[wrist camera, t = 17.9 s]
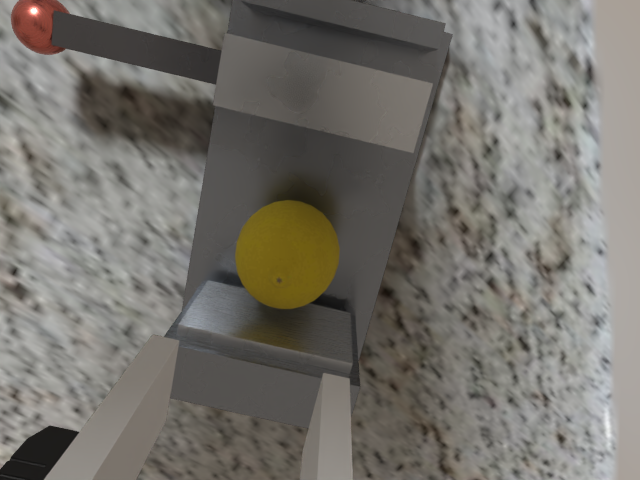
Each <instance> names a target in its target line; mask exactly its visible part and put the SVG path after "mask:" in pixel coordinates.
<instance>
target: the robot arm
mask: <svg viewBox="0 0 640 480" xmlns="http://www.w3.org/2000/svg"><path fill="white" fill-rule="evenodd" d="M178 346H179V340H175V339H171V338H166V337H162V336H157V335H152V336H151V337H150V339H149V340H148V341H147V343H146V344H145V345H144V347H143V348H142V349H141V351H140V352H139V353H138V355H137V356H136V357H135V359H134V360H133V361H132V363H131V364H130V365H129V367H128V368H127V369H126V371H125V372H124V373H123V375H122V376H121V377H120V379H119V380H118V381H117V383H116V384H115V385H114V387H113V388H112V389H111V391H110V392H109V393H108V395H107V396H106V397H105V399H104V400H103V401H102V403H101V404H100V405H99V407H98V408H97V410H96V411H95V412H94V414H93V415H92V416H91V418H90V419H89V420H88V422H87V423H86V424H85V426H84V427H83V428H82V430H81V431H80V432H77V431H73V430H68V429H63V428H59V427H54V426H48V427H47V428H45V429H43V430H41V431H40V432H38V433H36V434H35V435H33V436H31V437H30V438H28V439H27V440H26V441H25V442H24V443H23V444H22V445H21V446H20V448H19V449H18V450H17V451H16V452H15V453H14V454H13V455H12V457H11V459H10V461H7V462H6V463H5V465H4V466H3V467H2V468H1V469H0V480H136V478H137V477H138V475H139V473H140V471H141V469H142V467H143V465H144V463H145V461H146V459H147V457H148V455H149V453H150V451H151V449H152V448H153V446H154V444H155V442H156V440H157V438H158V436H159V434H160V432H161V430H162V428H163V426H164V424H165V422H166V419H167V413H168V407H169V401H170V395H171V389H172V382H173V376H174V370H175V364H176V358H177V352H178ZM300 480H353V468H352V437H351V405H350V379H349V378H345V377H340V376H336V375H332V374H327V373H323V376H322V380H321V384H320V388H319V391H318V395H317V399H316V403H315V406H314V410H313V414H312V418H311V421H310V425H309V429H308V433H307V436H306V440H305V444H304V448H303V452H302V462H301V472H300Z"/></svg>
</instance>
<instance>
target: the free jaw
mask: <svg viewBox="0 0 640 480" xmlns="http://www.w3.org/2000/svg"><path fill="white" fill-rule="evenodd" d="M11 24H12V28H13V31H14V33H15V35H16V36H17V38H18V39H19V40H20V42H21V43H22V44H23V45H25V46H26V47H27V48H29V49H30V50H32V51H34V52H36V53H40V54H45V55H52V54H57V53H60V52H62V51H64V50H65V49H70V50H75V51H79V52H83V53H87V54H91V55H95V56H100V57H104V58H108V59H112V60H116V61H120V62H124V63H129V64H133V65H137V66H141V67H145V68H149V69H154V70H158V71H162V72H166V73H170V74H174V75H179V76H183V77H187V78H191V79H195V80H199V81H204V82H208V83H212V84H216V89H215V95H214V101H213V105H214V106H218V107H223V108H227V109H231V110H235V111H239V112H243V113H248V114H252V115H256V116H260V117H264V118H269V119H273V120H277V121H281V122H285V123H290V124H294V125H298V126H302V127H306V128H310V129H315V130H319V131H323V132H327V133H331V134H336V135H340V136H344V137H348V138H352V139H357V140H361V141H365V142H369V143H373V144H377V145H382V146H386V147H390V148H394V149H398V150H403V151H407V152H411V153H414V149H415V145H416V142H417V138H418V135H419V131H420V128H421V124H422V121H423V117H424V114H425V110H426V107H427V103H428V100H429V96H430V93H431V89H432V86H433V83H429V82H425V81H421V80H416V79H412V78H408V77H404V76H400V75H396V74H392V73H388V72H384V71H380V70H375V69H371V68H367V67H363V66H359V65H355V64H351V63H347V62H343V61H338V60H334V59H330V58H326V57H322V56H318V55H314V54H310V53H306V52H301V51H297V50H293V49H289V48H285V47H281V46H277V45H273V44H269V43H264V42H260V41H256V40H252V39H248V38H244V37H240V36H236V35H232V34H227V33H224V39H223V46H222V51H220V50H216V49H212V48H208V47H204V46H199V45H195V44H191V43H187V42H183V41H179V40H175V39H171V38H166V37H162V36H158V35H154V34H150V33H146V32H142V31H137V30H133V29H129V28H125V27H121V26H117V25H113V24H109V23H104V22H100V21H96V20H92V19H88V18H84V17H80V16H76V15H71V14H70V13H69V12H68V10H67V9H66V8H65V7H64V6H63V5H62V4H61V3H60V2H59V1H57V0H19V1H18V2H17V3H16V5H15V6H14V8H13V10H12V14H11Z"/></svg>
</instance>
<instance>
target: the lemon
mask: <svg viewBox="0 0 640 480" xmlns="http://www.w3.org/2000/svg"><path fill="white" fill-rule="evenodd" d="M339 252H340V248H339V243H338V238H337V234H336V232H335V230H334V228H333V226H332V224H331V222H330V221H329V220H328V219H327V218H326V217H325V215H324V214H323V213H322V212H320V211H319V210H318V209H316V208H315V207H313V206H312V205H309V204H306V203H303V202H301V201H293V200H284V201H277V202H274V203H271V204H269V205H266V206H264V207H262V208H261V209H260V210H258V211H257V212H256V213H254V214H253V215H252V216H251V217H250V218H249V220H248V221H247V222H246V224H245V225H244V226H243V228H242V230H241V233H240V235H239V237H238V240H237V245H236V253H235V260H236V267H237V273H238V275H239V277H240V280H241V282H242V284H243V286H244V287H245V288H246V290H247V291H248V292H249V294H250V295H252V296H253V297H254V298H255V299H256V300H258V301H259V302H261V303H263V304H265V305H267V306H269V307H274V308H278V309H293V308H297V307H301V306H305V305H306V304H308V303H310V302H312V301H314V300H315V299H317V298H318V297H319V296H320V295H321V294H322V293H323V292H325V290H326V289H327V288H328V286H329V285H330V283H331V281H332V280H333V278H334V276H335V273H336V270H337V267H338V264H339Z"/></svg>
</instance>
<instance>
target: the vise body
mask: <svg viewBox="0 0 640 480" xmlns="http://www.w3.org/2000/svg"><path fill="white" fill-rule="evenodd" d="M445 24H446V23H442V22H438V21H434V20H430V19H426V18H421V17H417V16H413V15H409V14H405V13H401V12H397V11H393V10H389V9H385V8H381V7H377V6H373V5H369V4H365V3H361V2H357V1H353V0H233V1H232V7H231V13H230V19H229V25H228V31H227V34H232V35H236V36H240V37H244V38H248V39H252V40H256V41H260V42H264V43H269V44H273V45H277V46H281V47H285V48H289V49H293V50H297V51H301V52H306V53H310V54H314V55H318V56H322V57H326V58H330V59H334V60H338V61H343V62H347V63H351V64H355V65H359V66H363V67H367V68H371V69H375V70H380V71H384V72H388V73H392V74H396V75H400V76H404V77H408V78H412V79H416V80H421V81H425V82H429V83H433V86H432V89H431V93H430V96H429V100H428V103H427V107H426V110H425V114H424V117H423V121H422V124H421V128H420V131H419V135H418V138H417V142H416V145H415V149H414V153H411V152H407V151H403V150H398V149H394V148H390V147H386V146H382V145H377V144H373V143H369V142H365V141H361V140H357V139H352V138H348V137H344V136H340V135H336V134H331V133H327V132H323V131H319V130H315V129H310V128H306V127H302V126H298V125H294V124H290V123H285V122H281V121H277V120H273V119H269V118H264V117H260V116H256V115H252V114H248V113H243V112H239V111H235V110H231V109H227V108H223V107H218V106H215V111H214V117H213V123H212V129H211V136H210V142H209V148H208V154H207V160H206V166H205V172H204V178H203V185H202V191H201V197H200V203H199V209H198V215H197V221H196V228H195V234H194V240H193V246H192V252H191V258H190V264H189V270H188V277H187V283H186V289H185V295H184V301H183V307H182V312H181V313H180V315H179V316H178V318H177V319H176V320H175V322H174V323H173V325H172V326H171V328H170V329H169V330H168V332H167V333H166V335H165V336H164V337H166V338H171V339H175V340H179V346H178V352H177V358H176V364H175V370H174V376H173V382H172V389H171V395H170V398H172V399H176V400H181V401H185V402H190V403H195V404H199V405H204V406H208V407H213V408H217V409H222V410H226V411H231V412H235V413H240V414H244V415H249V416H254V417H258V418H263V419H267V420H272V421H276V422H281V423H285V424H290V425H294V426H299V427H304V428H308V429H309V425H310V421H311V418H312V414H313V410H314V406H315V403H316V399H317V395H318V391H319V388H320V384H321V380H322V376H323V373H327V374H332V375H336V376H340V377H345V378H349V379H350V405H351V416H352V413H353V410H354V406H355V403H356V399H357V396H358V392H359V389H360V378H359V363H358V361H359V358H360V355H361V351H362V348H363V344H364V341H365V337H366V334H367V330H368V327H369V323H370V320H371V316H372V313H373V309H374V306H375V302H376V299H377V295H378V292H379V288H380V285H381V282H382V278H383V275H384V271H385V268H386V264H387V261H388V257H389V254H390V250H391V247H392V243H393V240H394V236H395V233H396V229H397V226H398V222H399V219H400V215H401V212H402V208H403V205H404V202H405V198H406V195H407V191H408V188H409V184H410V181H411V177H412V174H413V170H414V167H415V163H416V160H417V156H418V153H419V149H420V146H421V142H422V139H423V135H424V132H425V129H426V125H427V122H428V118H429V115H430V111H431V108H432V104H433V101H434V97H435V94H436V90H437V87H438V83H439V80H440V76H441V73H442V69H443V66H444V62H445V59H446V55H447V52H448V49H449V45H450V42H451V38H452V35H453V34H450V33H446V32H444V28H445ZM284 200H293V201H301V202H303V203H306V204H309V205H312V206H313V207H315V208H316V209H318V210H319V211H320V212H322V213H323V214H324V215H325V217H326V218H327V219H328V220H329V221H330V222H331V224H332V226H333V228H334V230H335V232H336V234H337V238H338V243H339V248H340V252H339V264H338V267H337V270H336V273H335V276H334V278H333V280H332V281H331V283H330V285H329V286H328V288H327V289H326V290H325V292H323V293H322V294H321V295H320V296H319V297H318V298H317V299H315V300H314V301H312V302H310V303H308V304H306V305H305V306H301V307H297V308H293V309H278V308H274V307H269V306H267V305H265V304H263V303H261V302H259V301H258V300H256V299H255V298H254V297H253V296H252V295H250V294H249V292H248V291H247V290H246V288H245V287H244V286H243V284H242V282H241V280H240V277H239V275H238V273H237V267H236V260H235V253H236V245H237V240H238V237H239V235H240V233H241V230H242V228H243V226H244V225H245V224H246V222H247V221H248V220H249V218H250V217H251V216H252V215H253V214H254V213H256V212H257V211H258V210H260V209H261V208H262V207H264V206H266V205H269V204H271V203H274V202H277V201H284Z"/></svg>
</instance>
